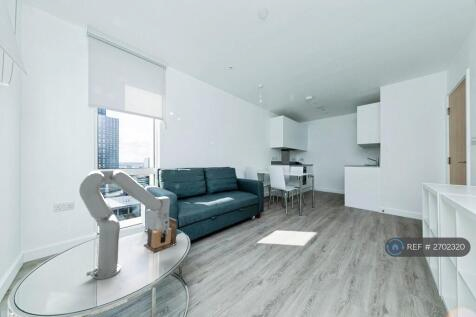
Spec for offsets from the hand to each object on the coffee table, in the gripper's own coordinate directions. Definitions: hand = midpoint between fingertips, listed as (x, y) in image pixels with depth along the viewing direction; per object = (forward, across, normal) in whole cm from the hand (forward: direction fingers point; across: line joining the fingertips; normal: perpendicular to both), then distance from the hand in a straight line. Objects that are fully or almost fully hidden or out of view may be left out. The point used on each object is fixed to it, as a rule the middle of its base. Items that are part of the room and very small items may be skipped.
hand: (161, 241), depth 123 cm
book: (+2, 0, 0) cm, 2 cm away
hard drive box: (+10, +46, -19) cm, 51 cm away
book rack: (+10, +16, -9) cm, 21 cm away
